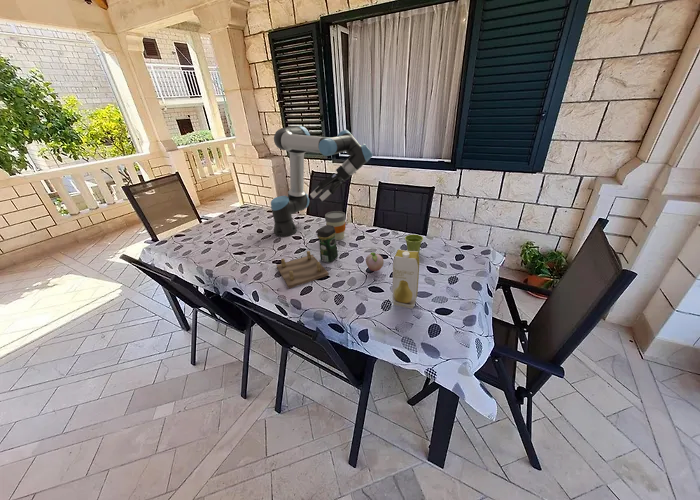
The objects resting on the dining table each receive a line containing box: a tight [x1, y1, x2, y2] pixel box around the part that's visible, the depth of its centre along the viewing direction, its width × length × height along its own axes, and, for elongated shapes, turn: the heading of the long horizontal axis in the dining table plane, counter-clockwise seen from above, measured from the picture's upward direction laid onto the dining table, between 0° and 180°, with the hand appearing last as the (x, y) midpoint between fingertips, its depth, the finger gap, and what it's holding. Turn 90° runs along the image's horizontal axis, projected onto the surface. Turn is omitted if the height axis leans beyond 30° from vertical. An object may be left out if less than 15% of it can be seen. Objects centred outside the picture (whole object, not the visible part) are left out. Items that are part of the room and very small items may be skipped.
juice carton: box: [392, 249, 421, 309], centre depth 105 cm, size 9×8×24 cm
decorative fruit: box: [365, 251, 385, 272], centre depth 130 cm, size 9×8×10 cm
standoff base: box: [276, 250, 330, 289], centre depth 135 cm, size 22×20×6 cm
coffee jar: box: [316, 224, 339, 263], centre depth 142 cm, size 10×8×19 cm
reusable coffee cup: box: [324, 210, 347, 241], centre depth 166 cm, size 12×12×15 cm
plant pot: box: [404, 233, 424, 254], centre depth 144 cm, size 9×9×9 cm
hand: (316, 198), depth 144 cm, fingers open, 13 cm apart
